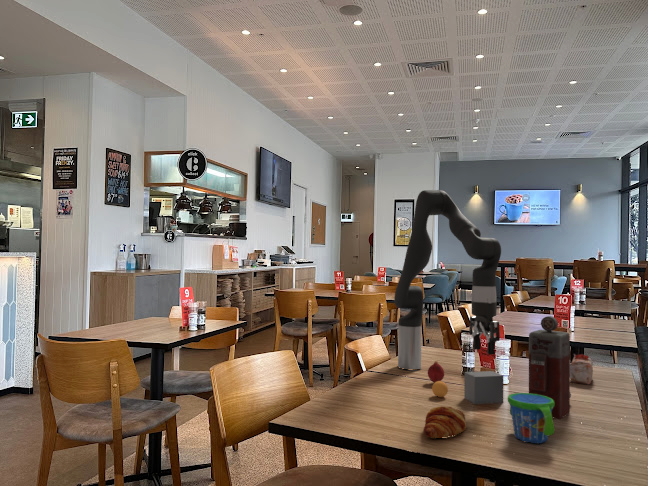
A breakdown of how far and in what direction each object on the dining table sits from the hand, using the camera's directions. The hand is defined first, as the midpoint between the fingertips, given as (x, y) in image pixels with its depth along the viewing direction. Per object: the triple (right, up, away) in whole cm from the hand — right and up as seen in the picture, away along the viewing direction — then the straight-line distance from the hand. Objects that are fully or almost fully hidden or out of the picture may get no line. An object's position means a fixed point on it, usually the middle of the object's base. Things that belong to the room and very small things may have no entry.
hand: (483, 351), depth 159 cm
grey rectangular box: (0, -15, 0) cm, 15 cm away
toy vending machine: (+15, -15, -13) cm, 25 cm away
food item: (+45, -17, +28) cm, 55 cm away
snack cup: (+1, -15, -34) cm, 37 cm away
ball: (-13, -13, +3) cm, 19 cm away
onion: (-11, -16, +20) cm, 28 cm away
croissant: (-19, -15, -29) cm, 37 cm away
